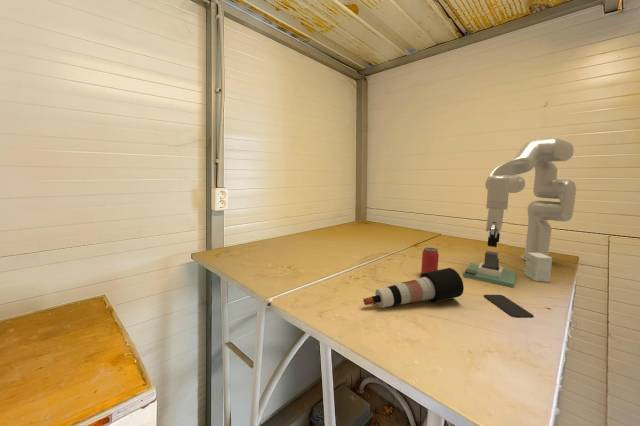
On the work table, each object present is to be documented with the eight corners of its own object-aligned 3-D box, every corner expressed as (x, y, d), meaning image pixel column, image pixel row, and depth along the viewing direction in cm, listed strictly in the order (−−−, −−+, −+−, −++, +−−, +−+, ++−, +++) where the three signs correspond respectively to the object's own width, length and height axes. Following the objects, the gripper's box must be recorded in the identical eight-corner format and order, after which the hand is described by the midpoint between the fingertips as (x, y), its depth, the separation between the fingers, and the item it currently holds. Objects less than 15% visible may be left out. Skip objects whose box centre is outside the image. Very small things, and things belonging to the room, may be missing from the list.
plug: (484, 270, 119) (486, 250, 118) (498, 272, 116) (500, 252, 115) (483, 272, 116) (485, 252, 115) (496, 275, 113) (498, 255, 112)
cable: (363, 317, 89) (356, 287, 92) (448, 297, 97) (439, 269, 100) (374, 318, 80) (365, 285, 83) (467, 296, 88) (457, 266, 91)
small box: (549, 282, 109) (553, 258, 108) (534, 281, 110) (537, 257, 109) (538, 275, 117) (541, 252, 116) (524, 274, 118) (526, 251, 117)
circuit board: (470, 266, 129) (470, 261, 129) (515, 274, 118) (516, 269, 117) (462, 276, 115) (463, 271, 115) (513, 287, 104) (514, 281, 104)
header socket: (480, 267, 122) (481, 262, 122) (502, 272, 117) (502, 266, 116) (477, 272, 116) (478, 267, 115) (500, 277, 110) (501, 271, 110)
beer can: (437, 274, 118) (439, 248, 116) (436, 279, 112) (438, 251, 110) (421, 271, 121) (423, 246, 119) (420, 276, 115) (422, 250, 113)
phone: (512, 316, 82) (482, 294, 96) (511, 318, 82) (481, 296, 96) (535, 316, 82) (502, 294, 96) (535, 318, 82) (501, 296, 97)
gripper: (489, 202, 121) (486, 238, 124) (483, 206, 108) (480, 247, 110) (509, 203, 117) (505, 241, 119) (505, 208, 103) (501, 250, 106)
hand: (493, 244), depth 115 cm, fingers open, 9 cm apart
